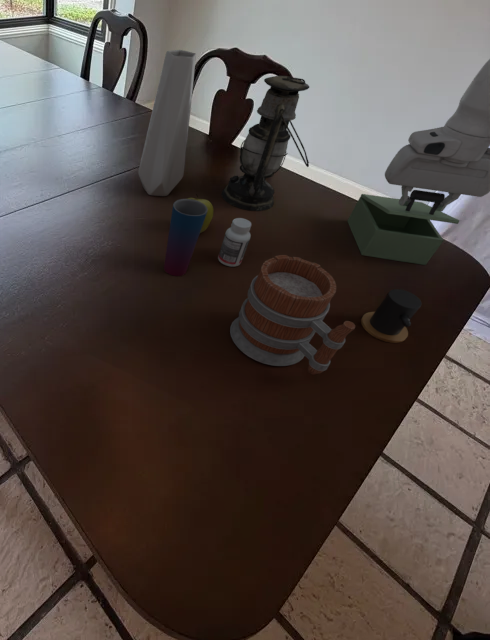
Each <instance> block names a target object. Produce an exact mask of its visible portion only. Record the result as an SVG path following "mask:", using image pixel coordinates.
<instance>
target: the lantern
mask: <svg viewBox="0 0 490 640" xmlns="http://www.w3.org/2000/svg"><path fill="white" fill-rule="evenodd" d="M263 82H264V83H265V84H266V85H267V86H269V88H268V89H267V91H266V92H265V95H264V98H263V99H262V102H261V104H260V106H259V107H258V108H257V110H256V112H257V115H259V116H260V119H259V123H255V124H253V126H251V127H249V129H248V133H247V136H246V137H245V139H244V140H243V141H242V142H241V144H240V149H239V150H240V151H239V153H240V154H239V163H240V166H239V170H240V171H241V173H243V175H240V176H239V175H233V176H231V177H230V178H229V180H228V183H227V185H226V186H225V187H224V188H223V189H222V190H221V193H220V195H221V198H222V199H223V201H225V202H226V203H227V204H229V205H231V206H233V207H235V208H238V209H240V210H245V211H249V212H250V211H251V212H262V211H267V210H270V209H271V208H272V207H273V206H274V205H275V202H274V199H275V198H274V197H275V196H274V194H275V188H274V187H273V186H272V185H271V184H270V183H269V182H268V181H267V180H266V179H269V178H272V177H273V176H275V174H276V173H278V171H279V170H280V169H281V168H282V167H283V164H284V162H285V160H286V156H287V155H288V152H287V150H288V143H289V141H290V139H292V140H293V143H294V145H295V146H296V149H297V150H298V153H299V155H300V157H301V159H302V161H303V163H304V165H305V166H306V167H307V168H308V167H310V164H309V163H310V162H309V159H308V155H307V151H306V149H305V147H304V143H303V142H302V140H301V138H300V137H299V136H300V135H298V133H297V130H296V128H295V127H294V124H293V123H292V121H293V120H296V116H297V115H296V109H297V106H298V102H299V99H300V94H299V92H303V91H307V90H308V89H310V85H309V84H308V83H306V80H305V79H303V78H300V77H294V76H289V75H288V76H287V75H275V76H270V77H266V78H264V79H263ZM288 122H289V124H290V126H291V127H292V129H293V132H294V133H295V135H296V138H297V140H298V141H299V144H300V146H301V148H302V150H303V153H304V155H303V153H302V151H301V149H300V147H299V145H298V143H297V140H296V139H295V137H294V135H293V133H292V131H291V130H290V128H289V126H288Z"/></svg>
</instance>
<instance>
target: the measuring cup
mask: <svg viewBox="0 0 490 640" xmlns="http://www.w3.org/2000/svg"><path fill="white" fill-rule="evenodd" d="M421 306H422V301H421V299H420V298H419V297H418V296H417V295H415V294H414V293H413V292H411V291H408V290H405V289H400V288H393V289H391V290H389V292H388V293H387V294H386V296H385V297H384V298H383V300H382V301H381V303H380V304H379V306H378V307H377V309H376V310H375V311H374V312H375V313H374V314H373V316H372V317H371V318H370V324H371V325H372V327H373V328H374V329H376V330H377V331H379V332H381V333H383V334H386V335H397V334H399V333H400V332H401V330H402V329H403V328H404V327H406V328H408V327H409V328H410V326H411V325H412V322H411V320H412V318H413V317H414V316H415V314H416V313H417V312H418V311H419V309H420V308H421Z"/></svg>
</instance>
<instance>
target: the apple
mask: <svg viewBox="0 0 490 640" xmlns="http://www.w3.org/2000/svg"><path fill="white" fill-rule="evenodd" d="M195 194H196V198H194V197H188V198H187V199H193V200H197V201H199V202H201V203H203V204H204V205H206V207H207V209H208V211H207V214H206V217H205V220H204V223H203V225H202V228H201V231H200V234H201V233H203V232H205V231H206V230H207V229H208V227H209V226H210V224H211V222H212V219H213V217H214V206H213V204H212V203H211V202H210V201H209V200H208V199H205V198H199V197H198V193H195Z"/></svg>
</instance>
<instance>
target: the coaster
mask: <svg viewBox="0 0 490 640" xmlns="http://www.w3.org/2000/svg"><path fill="white" fill-rule="evenodd" d="M374 313H375V311H369V312H366V313H364V314H363V315H362V317H361V319H360V324H361V326H362V328H363V329H364V330H365V331H366V333H368V334H369V335H371V336H372V337H373V338H375V339H377V340H380V341H382V342H385V343H391V344H399V343H402V342H404V341H406V340H407V338H408V337H409V331H408V327H404V328H403V329H402V330H401V332H400V333H399V334H397V335H386V334H383V333H381V332H379V331H377V330H376V329H374V328H373V327H372V325H371V324H370V318H371V317H372V316H373V314H374Z"/></svg>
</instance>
